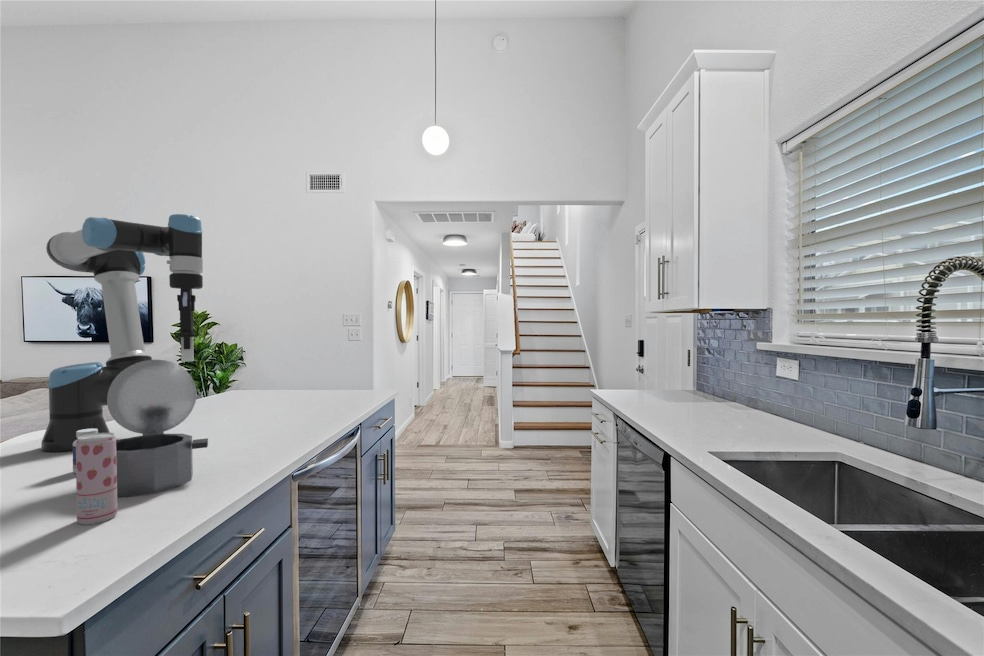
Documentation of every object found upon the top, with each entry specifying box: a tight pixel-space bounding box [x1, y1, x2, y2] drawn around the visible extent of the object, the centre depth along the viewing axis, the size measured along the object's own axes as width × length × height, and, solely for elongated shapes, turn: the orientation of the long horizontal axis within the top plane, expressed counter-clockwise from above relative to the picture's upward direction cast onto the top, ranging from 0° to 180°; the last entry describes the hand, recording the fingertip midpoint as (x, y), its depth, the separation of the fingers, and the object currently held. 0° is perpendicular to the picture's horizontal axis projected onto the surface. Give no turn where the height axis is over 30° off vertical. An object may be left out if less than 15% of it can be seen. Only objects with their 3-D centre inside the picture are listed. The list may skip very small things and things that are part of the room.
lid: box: [106, 359, 198, 436], centre depth 116 cm, size 18×18×3 cm
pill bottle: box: [72, 429, 98, 474], centre depth 115 cm, size 5×5×10 cm
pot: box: [116, 433, 209, 498], centre depth 106 cm, size 17×23×9 cm
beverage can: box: [75, 432, 119, 526], centre depth 87 cm, size 6×6×15 cm
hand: (187, 361), depth 130 cm, fingers closed
